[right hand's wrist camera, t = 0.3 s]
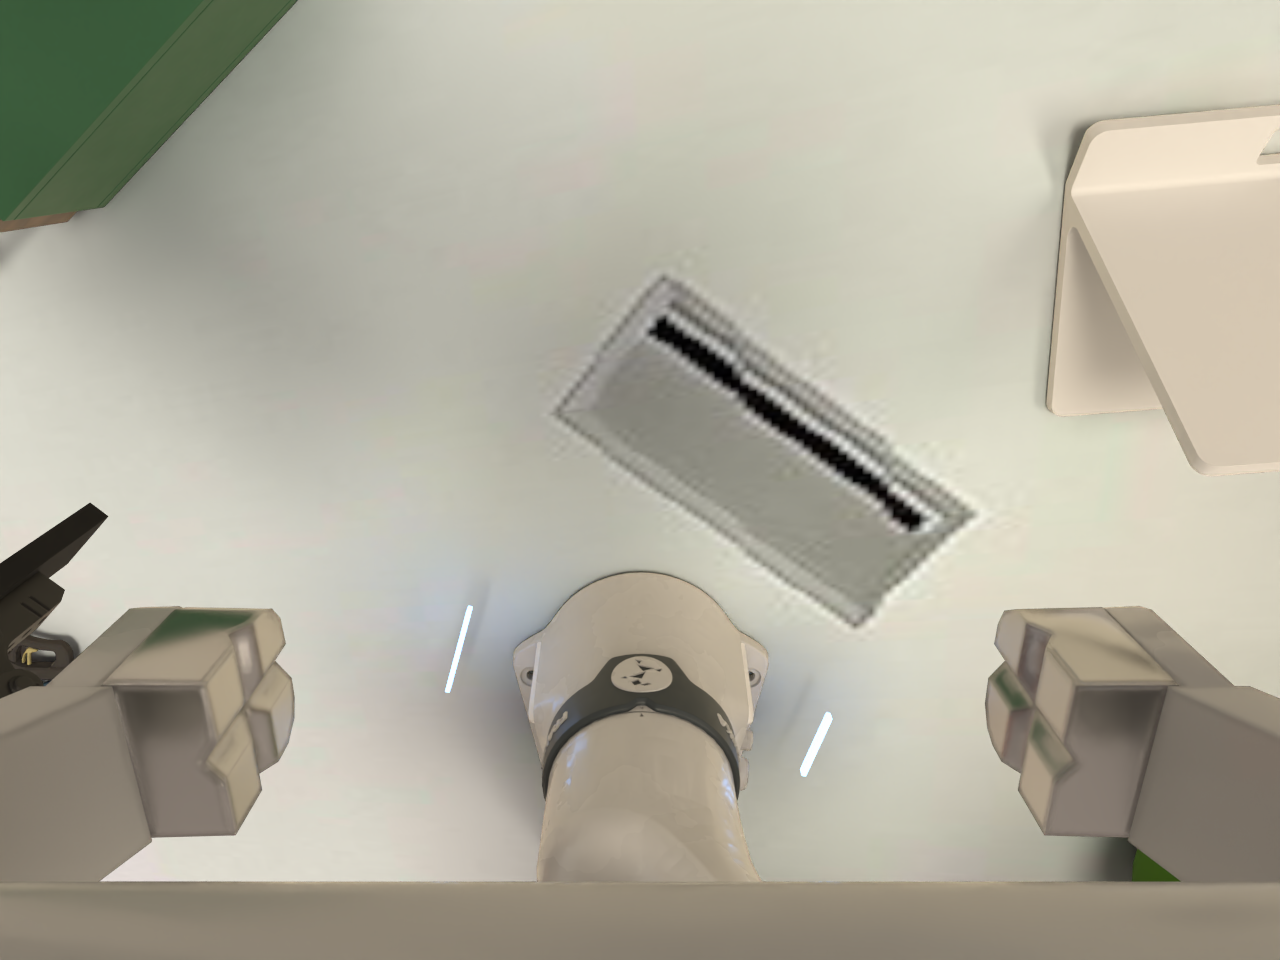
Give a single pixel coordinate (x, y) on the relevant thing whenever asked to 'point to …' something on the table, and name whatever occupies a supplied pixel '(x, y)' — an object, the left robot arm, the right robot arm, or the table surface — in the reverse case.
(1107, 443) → the table surface
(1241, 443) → the tablet stand
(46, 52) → the cabinet
